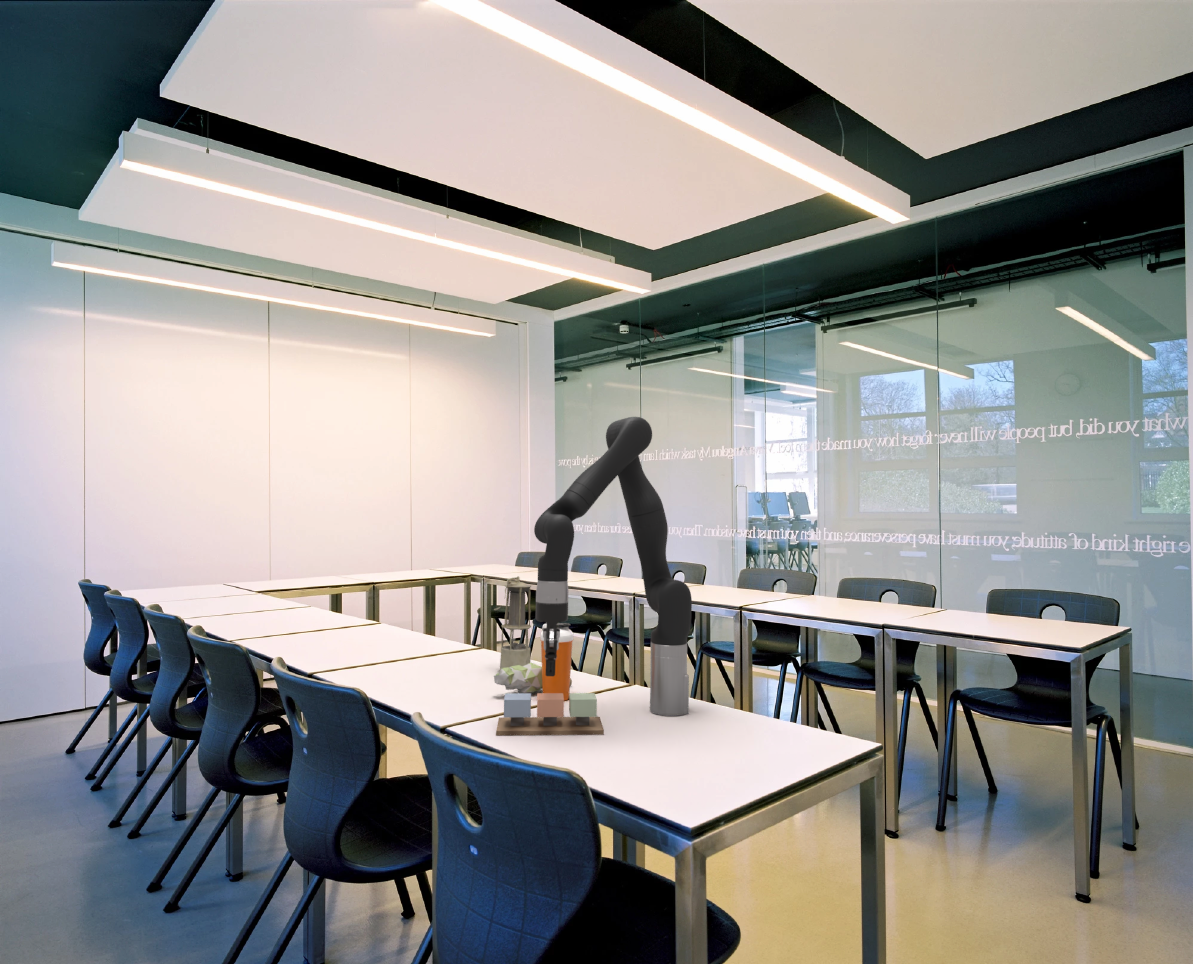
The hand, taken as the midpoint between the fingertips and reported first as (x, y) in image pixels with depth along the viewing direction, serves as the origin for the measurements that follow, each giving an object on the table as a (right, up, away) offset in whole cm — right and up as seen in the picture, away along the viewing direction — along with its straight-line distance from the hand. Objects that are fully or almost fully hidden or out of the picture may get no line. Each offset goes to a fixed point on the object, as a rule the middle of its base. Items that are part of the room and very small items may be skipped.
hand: (550, 675), depth 169 cm
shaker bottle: (0, -14, +27) cm, 30 cm away
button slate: (-7, -9, -1) cm, 11 cm away
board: (0, -12, -1) cm, 12 cm away
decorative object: (-7, -14, +33) cm, 37 cm away
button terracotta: (0, -9, 0) cm, 9 cm away
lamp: (-16, -15, +57) cm, 61 cm away
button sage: (+8, -9, 0) cm, 12 cm away
